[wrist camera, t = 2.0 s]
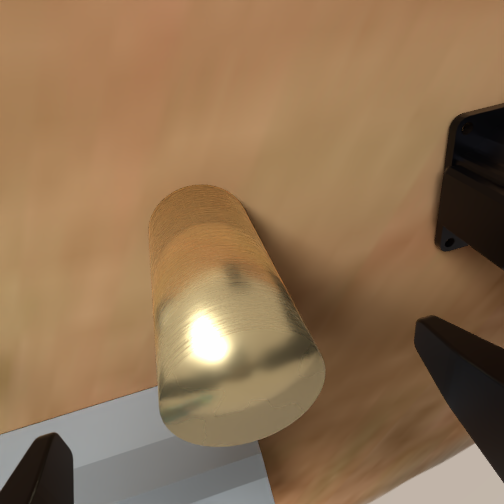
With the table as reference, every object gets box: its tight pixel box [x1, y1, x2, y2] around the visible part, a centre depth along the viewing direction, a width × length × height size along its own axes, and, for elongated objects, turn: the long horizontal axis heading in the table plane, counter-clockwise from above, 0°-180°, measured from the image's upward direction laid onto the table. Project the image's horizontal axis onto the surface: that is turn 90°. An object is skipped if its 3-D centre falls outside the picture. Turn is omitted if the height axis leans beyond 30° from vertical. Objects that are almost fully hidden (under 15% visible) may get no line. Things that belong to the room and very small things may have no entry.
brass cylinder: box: [148, 185, 325, 447], centre depth 13 cm, size 4×4×8 cm
